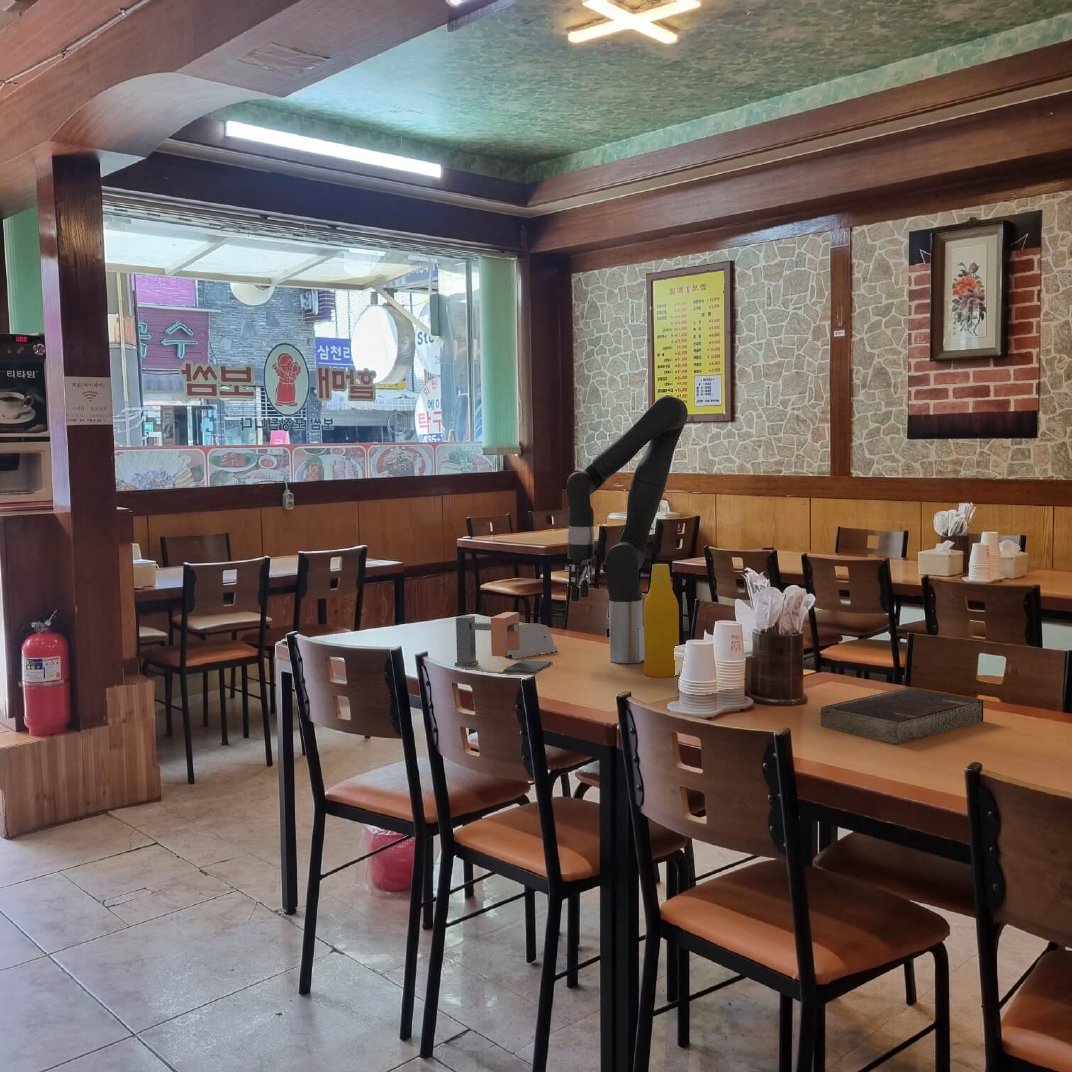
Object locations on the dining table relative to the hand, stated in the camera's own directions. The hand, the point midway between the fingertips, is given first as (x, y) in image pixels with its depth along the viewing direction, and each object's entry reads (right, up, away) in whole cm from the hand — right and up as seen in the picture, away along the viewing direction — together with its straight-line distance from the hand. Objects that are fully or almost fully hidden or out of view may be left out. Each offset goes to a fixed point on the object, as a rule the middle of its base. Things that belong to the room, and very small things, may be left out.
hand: (580, 598), depth 296 cm
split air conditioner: (-15, -17, +11) cm, 25 cm away
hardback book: (+64, -22, -77) cm, 103 cm away
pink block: (-21, -14, -8) cm, 27 cm away
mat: (-15, -18, -10) cm, 25 cm away
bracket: (-26, -18, -6) cm, 32 cm away
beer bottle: (+21, -19, -23) cm, 36 cm away
